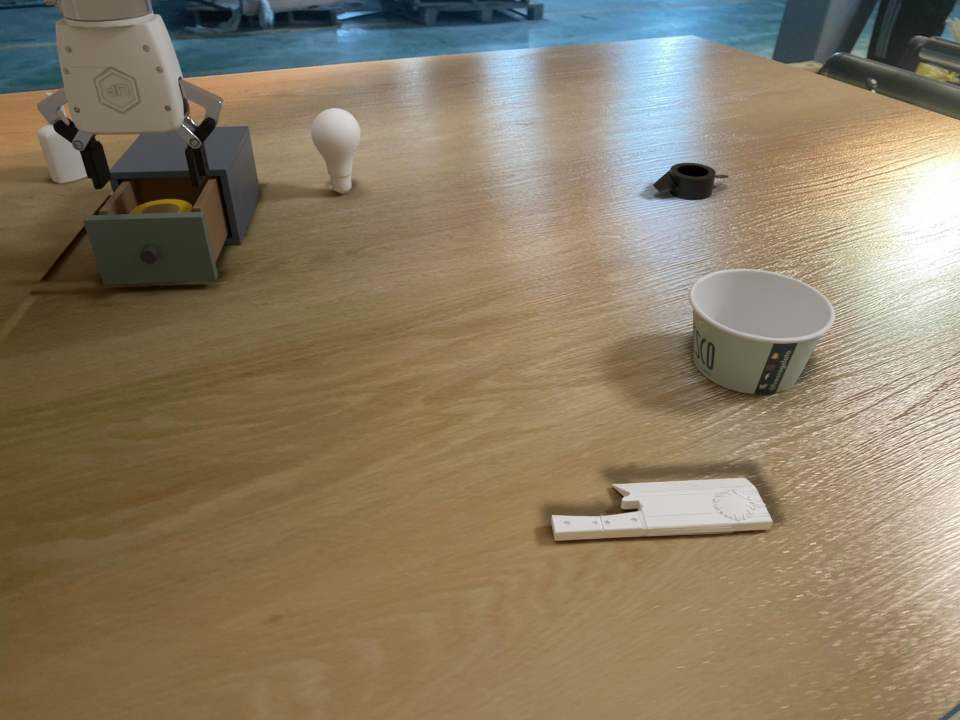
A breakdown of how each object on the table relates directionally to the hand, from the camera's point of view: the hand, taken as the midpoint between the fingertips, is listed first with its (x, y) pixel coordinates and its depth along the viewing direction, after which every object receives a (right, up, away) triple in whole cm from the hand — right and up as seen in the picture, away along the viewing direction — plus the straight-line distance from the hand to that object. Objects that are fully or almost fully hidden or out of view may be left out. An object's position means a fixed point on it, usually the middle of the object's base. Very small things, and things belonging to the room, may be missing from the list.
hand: (151, 183), depth 78 cm
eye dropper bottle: (-21, +5, +25) cm, 33 cm away
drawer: (0, -7, +6) cm, 9 cm away
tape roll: (0, -6, +5) cm, 8 cm away
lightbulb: (+16, +4, +22) cm, 27 cm away
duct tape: (+62, +4, +23) cm, 66 cm away
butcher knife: (+46, -29, -24) cm, 60 cm away
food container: (+58, -19, -9) cm, 62 cm away
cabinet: (-1, -1, +15) cm, 15 cm away
